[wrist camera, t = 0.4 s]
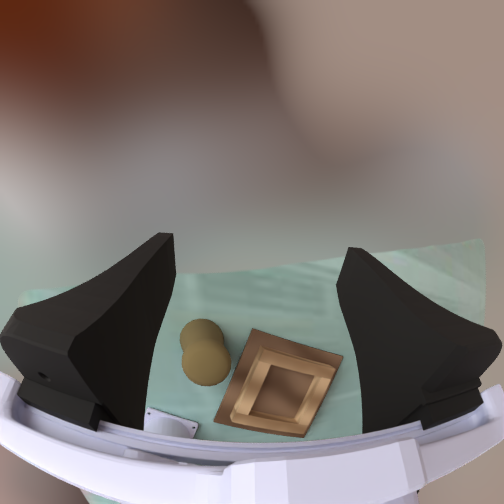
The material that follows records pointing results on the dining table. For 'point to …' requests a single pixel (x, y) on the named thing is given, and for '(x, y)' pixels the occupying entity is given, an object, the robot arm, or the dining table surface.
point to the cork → (204, 353)
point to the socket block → (277, 386)
